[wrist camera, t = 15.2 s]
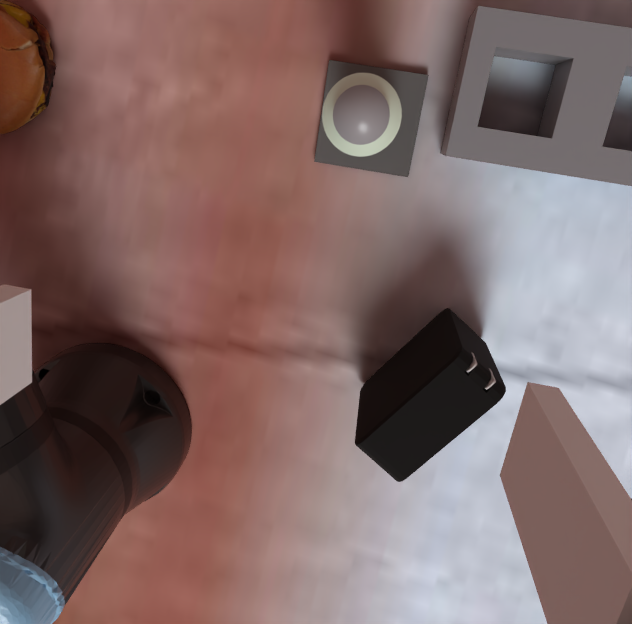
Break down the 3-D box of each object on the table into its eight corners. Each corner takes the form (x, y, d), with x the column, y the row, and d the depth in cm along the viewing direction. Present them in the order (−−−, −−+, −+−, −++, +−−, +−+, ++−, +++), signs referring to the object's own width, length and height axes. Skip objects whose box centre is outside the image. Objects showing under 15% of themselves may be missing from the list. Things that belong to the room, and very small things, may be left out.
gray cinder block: (440, 153, 42) (445, 155, 38) (469, 17, 39) (478, 5, 35) (664, 189, 41) (692, 196, 37) (711, 52, 38) (747, 44, 34)
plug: (337, 143, 42) (315, 150, 29) (346, 85, 41) (327, 66, 28) (391, 152, 42) (393, 162, 29) (402, 93, 40) (409, 77, 28)
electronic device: (360, 385, 48) (353, 448, 39) (447, 304, 45) (462, 351, 36) (395, 417, 49) (397, 487, 39) (484, 339, 46) (509, 394, 36)
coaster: (315, 161, 43) (314, 161, 43) (330, 60, 41) (329, 59, 40) (407, 176, 43) (408, 177, 42) (427, 75, 40) (428, 75, 40)
